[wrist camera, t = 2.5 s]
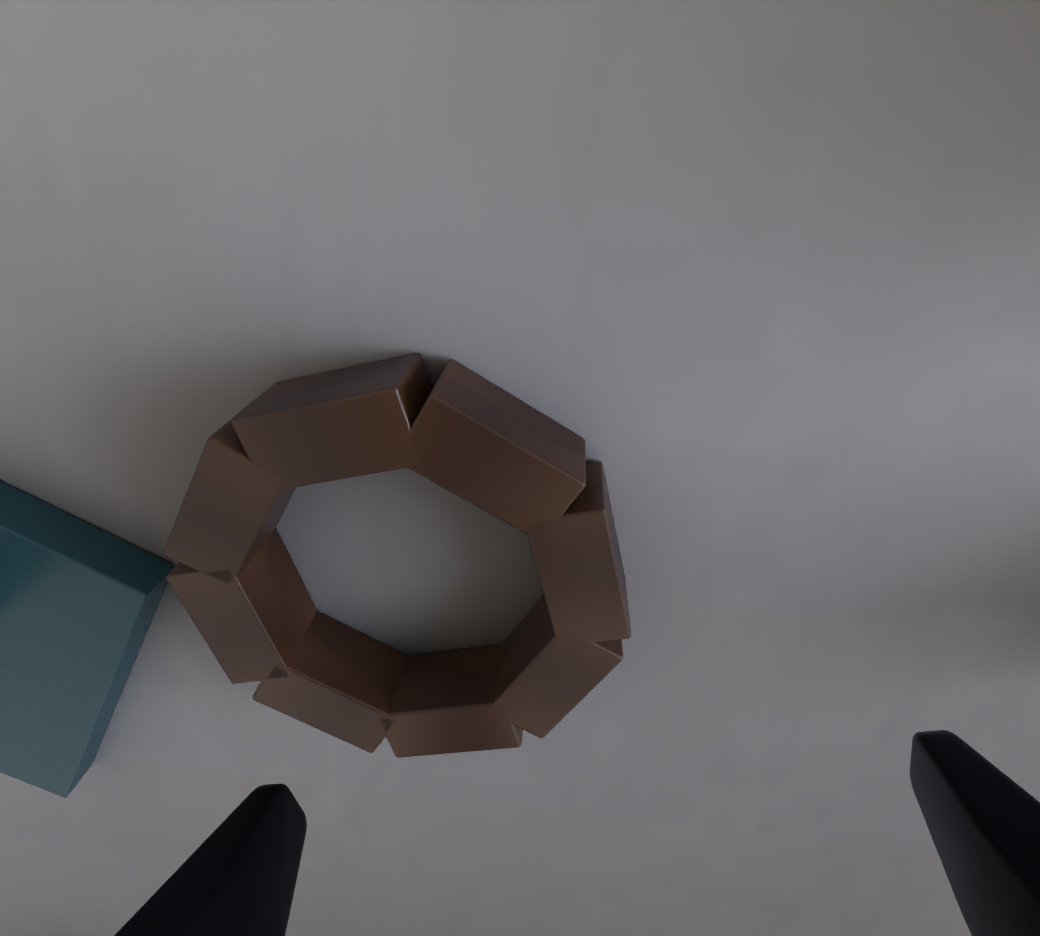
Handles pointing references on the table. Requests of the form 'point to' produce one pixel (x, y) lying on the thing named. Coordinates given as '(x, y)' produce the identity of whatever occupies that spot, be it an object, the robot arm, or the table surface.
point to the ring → (458, 468)
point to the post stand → (65, 636)
